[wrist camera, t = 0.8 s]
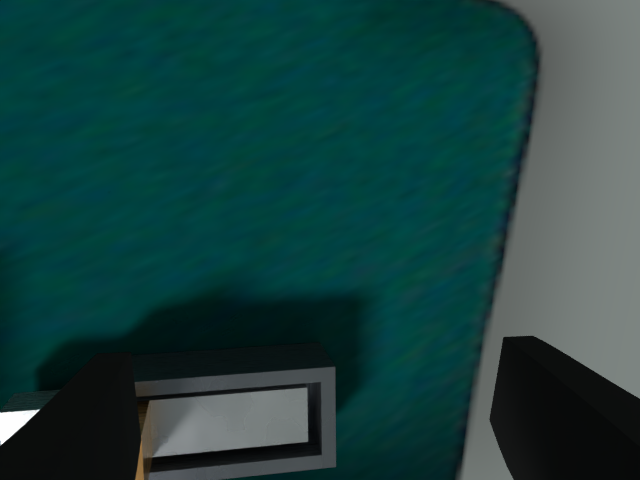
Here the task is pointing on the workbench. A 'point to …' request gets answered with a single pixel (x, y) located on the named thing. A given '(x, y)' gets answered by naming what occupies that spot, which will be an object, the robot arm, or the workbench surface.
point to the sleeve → (246, 372)
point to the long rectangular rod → (195, 420)
